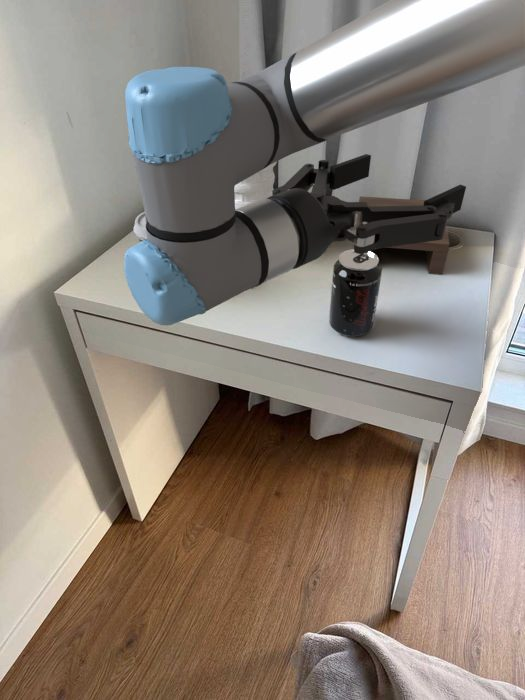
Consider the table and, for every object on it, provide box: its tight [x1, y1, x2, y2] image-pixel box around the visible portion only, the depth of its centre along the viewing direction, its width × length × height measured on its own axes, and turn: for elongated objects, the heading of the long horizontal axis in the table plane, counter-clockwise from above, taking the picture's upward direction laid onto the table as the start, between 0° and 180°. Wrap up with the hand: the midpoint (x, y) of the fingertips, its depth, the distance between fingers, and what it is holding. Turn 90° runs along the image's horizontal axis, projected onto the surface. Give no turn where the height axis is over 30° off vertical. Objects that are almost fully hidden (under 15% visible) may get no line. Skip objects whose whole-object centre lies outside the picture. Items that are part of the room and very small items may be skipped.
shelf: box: [352, 195, 451, 276], centre depth 94 cm, size 18×16×6 cm
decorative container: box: [234, 161, 278, 209], centre depth 91 cm, size 12×12×18 cm
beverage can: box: [328, 248, 383, 337], centre depth 73 cm, size 7×7×12 cm
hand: (411, 180), depth 60 cm, fingers open, 13 cm apart
